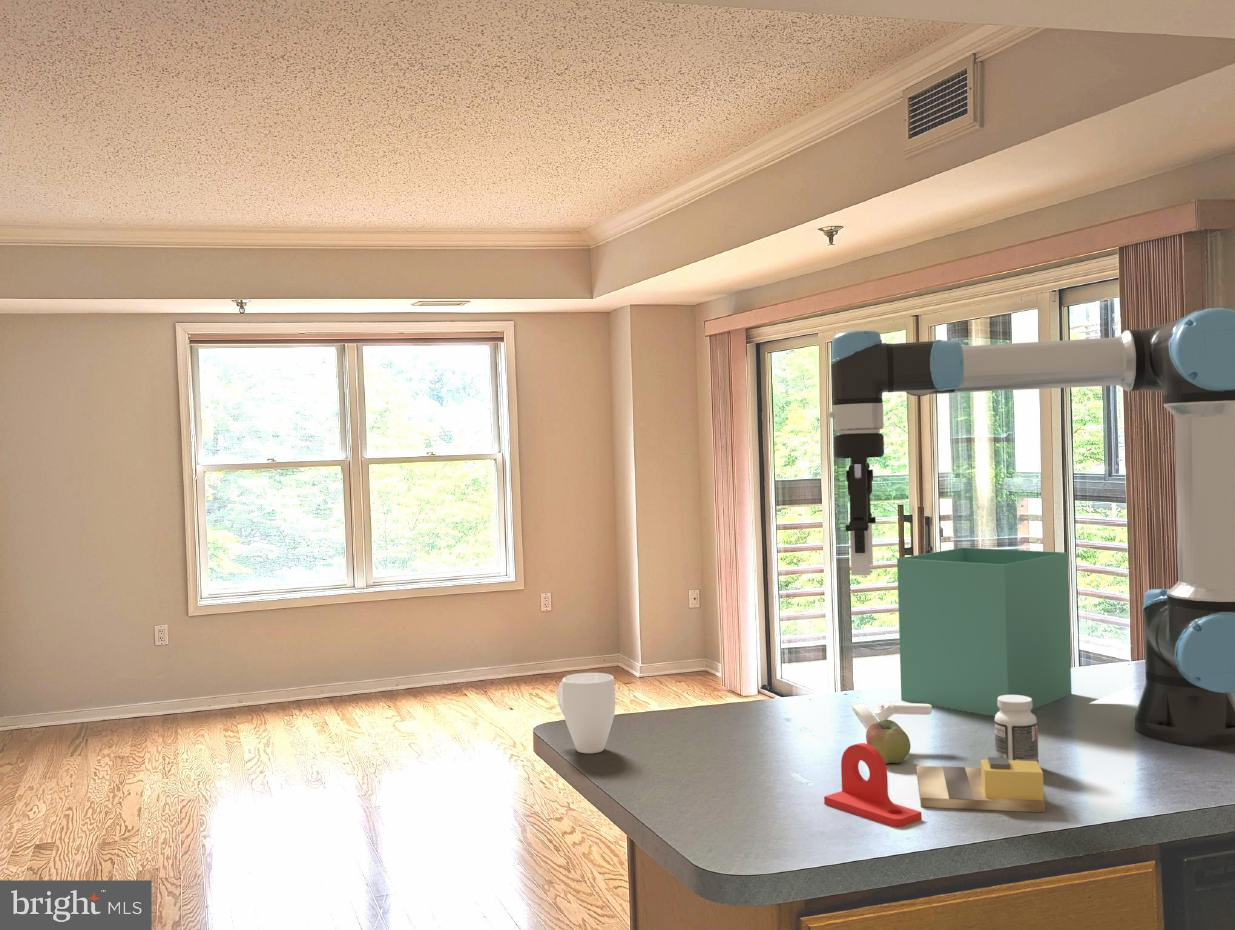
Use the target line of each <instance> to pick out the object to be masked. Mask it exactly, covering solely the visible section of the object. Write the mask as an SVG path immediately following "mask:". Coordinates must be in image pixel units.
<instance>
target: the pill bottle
mask: <svg viewBox="0 0 1235 930" xmlns="http://www.w3.org/2000/svg"><path fill="white" fill-rule="evenodd" d="M997 705H998V707H999V708H1000V711H999V712H998V713H997V714H996V715H995V717H994V738H995V739H994V741H995V743H994V744H995V757H998V758H1008V760H1016V761H1037V762H1038V764H1039V744H1038V743H1039V740H1038V739H1039V738H1038V719H1037V717H1036V715H1035V714H1034V713H1032V710H1031V709H1032V707H1033V705H1032V699H1031V698H1030V697H1027V696H1021V695H1002V696H999V697H998V701H997ZM1039 765H1040V764H1039Z"/></svg>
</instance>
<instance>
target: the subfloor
mask: <svg viewBox="0 0 1235 930" xmlns="http://www.w3.org/2000/svg"><path fill="white" fill-rule="evenodd" d="M916 777H917V786H918V787H917V788H918V793H919V795H918V796H919V801H920V802H919V803H920V807H922V808H935V809H936V808H937V809H938V808H940V809H958V810H959V809H960V810H961V809H962V810H963V809H964V810H980V811H981V810H983V811H1007V812H1008V811H1009V812H1025V813H1026V812H1029V813H1030V812H1033V813H1046V802H1045V799H1044V800H1026V799H1002V798H985V795H984V792H983V788H982V782H981V767H966V766H946V765H945V766H944V765H943V766H933V765H916Z"/></svg>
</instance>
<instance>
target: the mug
mask: <svg viewBox="0 0 1235 930" xmlns="http://www.w3.org/2000/svg"><path fill="white" fill-rule="evenodd" d="M615 685H616V684H615V678H614V675H612V674H609V673H605V672H579V673H574V674H568V675H565V676H564V677H563V678H562V680H561V682H560V683H559V684H558V687H557V693H556V694H557V702H558V705H559V706H558V707H559V709H560V711H561V713H562V715H563V716H564V721H565V723H566V726H567V730H568V732H569V733H570V736H571V739H572V741H573V744H574V746H575V750H576V751H577V752H578V753H582V754H595V753H596V754H597V753H601V752H603V751H604V749H605V748H606V747H605V746H606V745H607V741H608V737H609V735H610V732H611V728H612V725H613V722H614V719H615V714H616V713H615V712H616V691H615V690H616V688H615V687H616V686H615Z"/></svg>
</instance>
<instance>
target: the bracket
mask: <svg viewBox="0 0 1235 930" xmlns="http://www.w3.org/2000/svg"><path fill="white" fill-rule="evenodd" d="M840 760H841V761H840V765H841V766H840V768H841V769H840V773H841V777H840V778H841V791H838V792H834V793H831V794H827V795H825V796H823V800H824V802H823V804H824V805H825V806H829V807H831V808H835V809H837V810H840V811H844V812H847V813H850V814H853V815H855V816H858V817H862V818H865V819H868V820H871V821H874V822H877V823H880V824H883V825H886V826H890V827H892V828H903V827H906V826H908V825H913V824H914V823H917V822H920V821H922V811H919V810H917V809H913V808H910V807H907V806H905V805H904V806H903V805H900V804H897V803H894V802H893V801H892V800H891V799H890V797H889V791H888V790H889V787H888V786H889V785H888V784H889V783H888V782H889V781H888V779H889V778H888V769H887V764H885V762H884V760H883V758H882V756H881V755H880V753H879V752H878V751H877V750H876V749H875V748H874V747H872V746H871V745H869V744H867V742H866V743H865V742H859V743H855V744H851V745H850V746H848V747H847V748H846V749H845V750H844V752H843V753H842V755H841V759H840ZM861 761H862V762H863V763H864V764H865V765H866V766H867V768H868V771H869V777H868V779H865V778H864V777H863V776H862V775H861V773H860V770H859V769H860V768H859V763H860V762H861Z"/></svg>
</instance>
